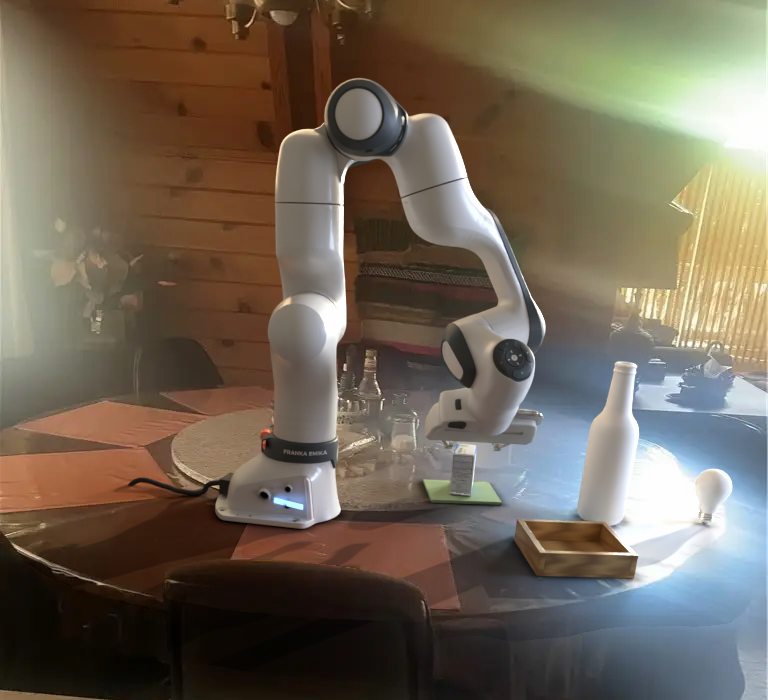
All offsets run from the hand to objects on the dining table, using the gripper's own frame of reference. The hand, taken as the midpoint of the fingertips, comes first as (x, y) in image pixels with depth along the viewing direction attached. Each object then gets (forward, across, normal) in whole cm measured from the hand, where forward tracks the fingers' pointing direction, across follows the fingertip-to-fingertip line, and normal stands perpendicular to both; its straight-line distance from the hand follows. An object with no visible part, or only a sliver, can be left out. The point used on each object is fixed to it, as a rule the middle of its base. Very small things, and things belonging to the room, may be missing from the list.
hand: (471, 446), depth 145 cm
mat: (+12, 0, +4) cm, 13 cm away
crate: (-10, -13, +26) cm, 30 cm away
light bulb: (+3, -46, +13) cm, 48 cm away
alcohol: (+4, -25, +12) cm, 28 cm away
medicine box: (+12, 0, +4) cm, 12 cm away
